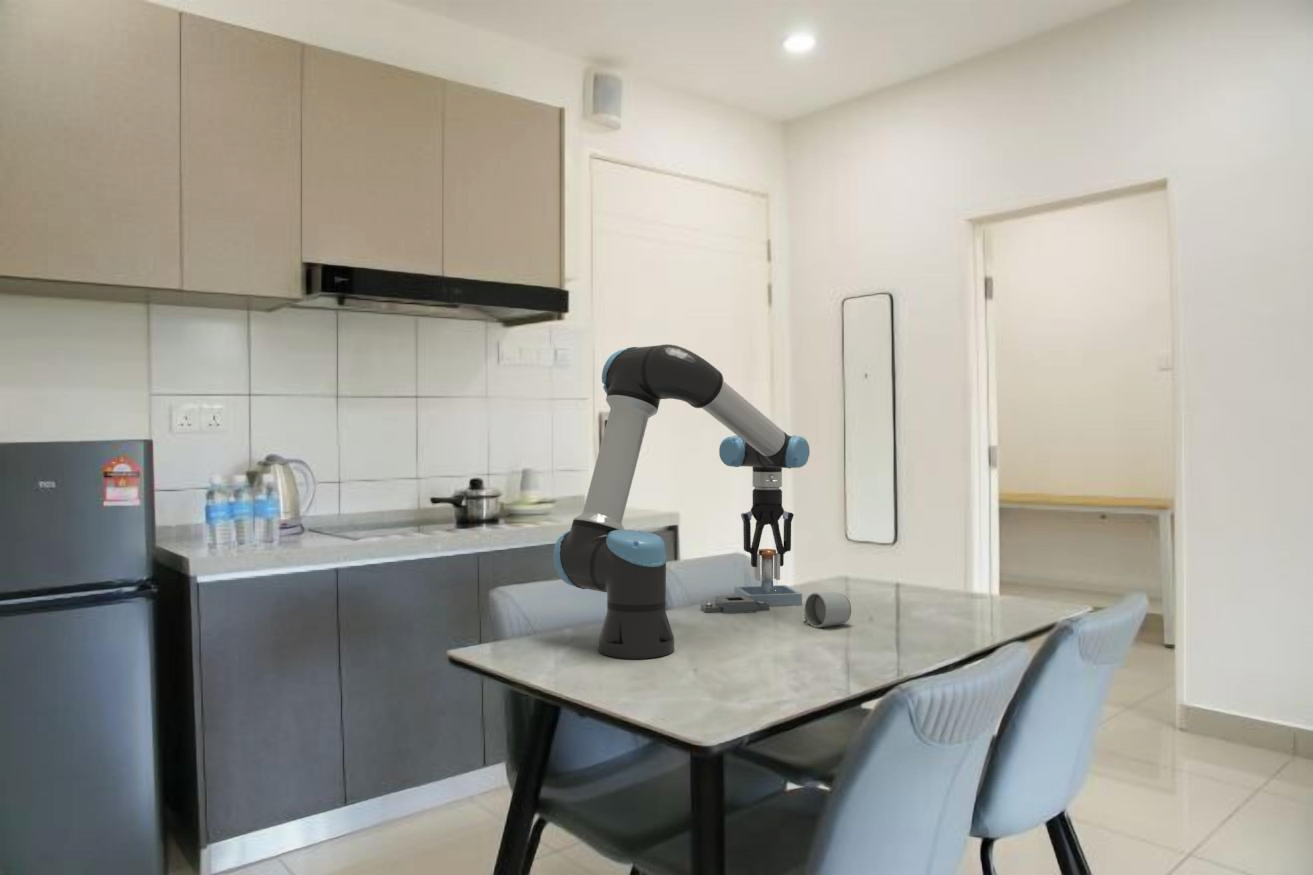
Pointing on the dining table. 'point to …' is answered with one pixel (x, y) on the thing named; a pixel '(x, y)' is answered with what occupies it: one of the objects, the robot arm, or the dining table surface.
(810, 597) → the ceramic mug
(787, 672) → the dining table surface
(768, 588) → the pin
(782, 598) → the tray
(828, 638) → the dining table surface
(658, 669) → the dining table surface
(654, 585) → the robot arm
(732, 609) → the grey holder base
